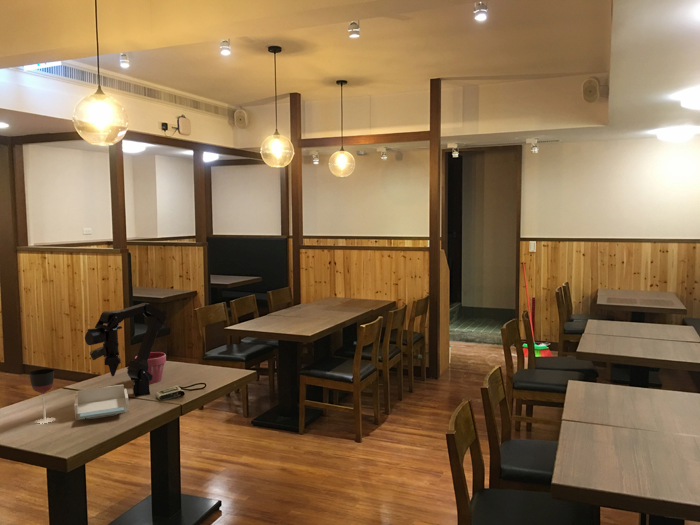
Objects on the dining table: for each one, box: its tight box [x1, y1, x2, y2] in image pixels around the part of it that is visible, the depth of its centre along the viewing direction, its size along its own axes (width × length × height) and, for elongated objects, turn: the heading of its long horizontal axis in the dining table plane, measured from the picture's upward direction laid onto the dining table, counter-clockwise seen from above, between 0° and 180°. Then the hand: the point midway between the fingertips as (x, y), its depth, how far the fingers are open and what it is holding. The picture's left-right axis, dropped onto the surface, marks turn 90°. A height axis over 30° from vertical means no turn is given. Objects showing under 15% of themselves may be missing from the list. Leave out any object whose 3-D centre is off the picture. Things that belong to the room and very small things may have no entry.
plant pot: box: [134, 351, 167, 384], centre depth 275 cm, size 14×14×13 cm
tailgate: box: [79, 407, 126, 420], centre depth 224 cm, size 16×2×8 cm
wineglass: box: [28, 368, 56, 425], centre depth 223 cm, size 8×9×20 cm
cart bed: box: [73, 384, 130, 421], centre depth 234 cm, size 20×14×8 cm
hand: (112, 376), depth 242 cm, fingers closed
